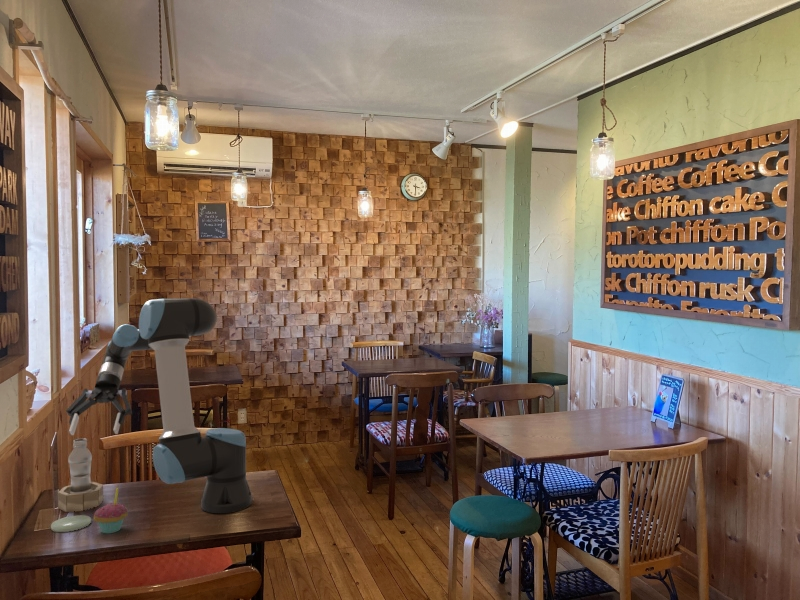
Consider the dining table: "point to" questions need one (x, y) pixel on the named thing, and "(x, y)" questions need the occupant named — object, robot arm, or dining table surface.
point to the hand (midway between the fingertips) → (93, 432)
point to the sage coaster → (70, 523)
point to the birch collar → (80, 498)
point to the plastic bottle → (80, 467)
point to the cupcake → (111, 516)
